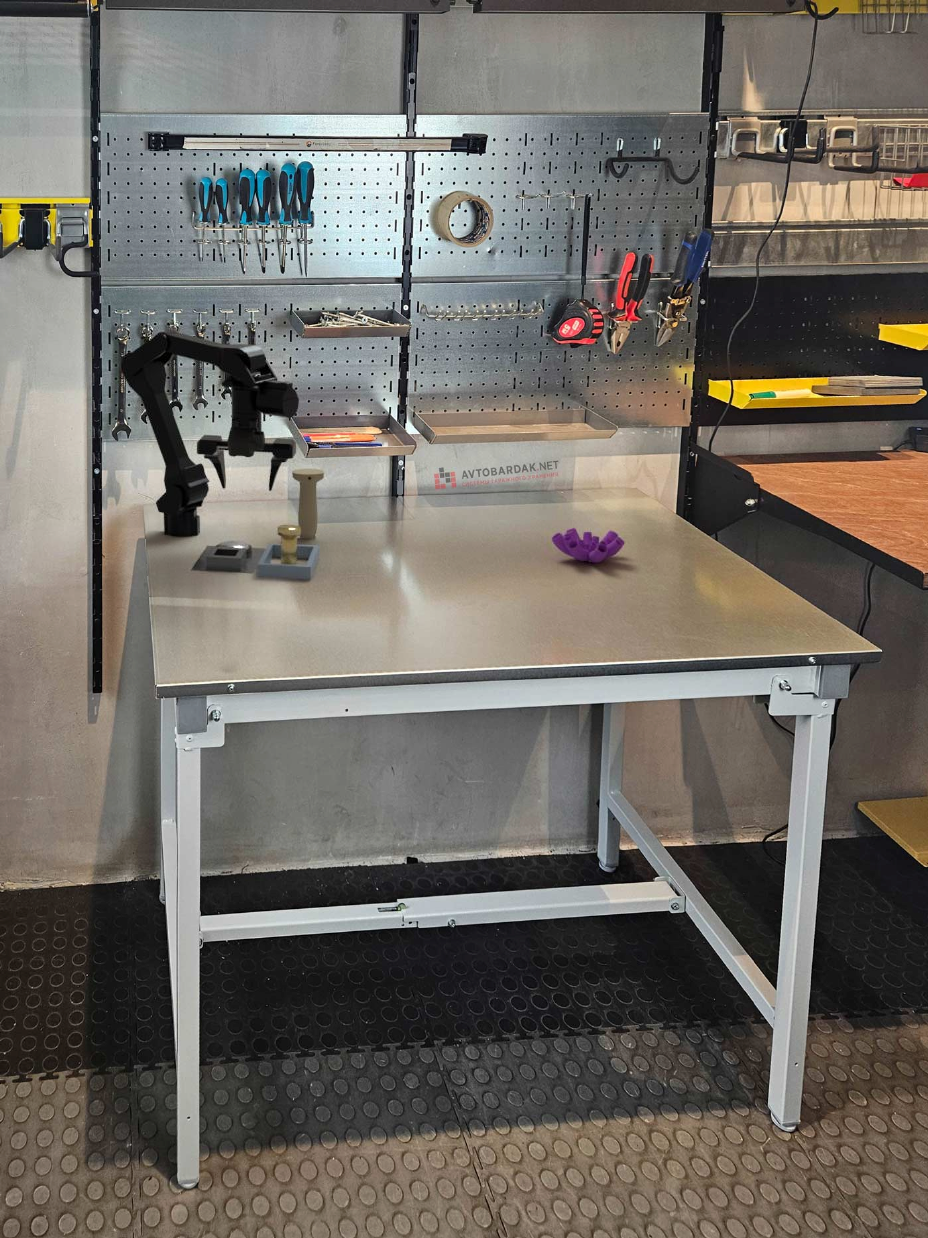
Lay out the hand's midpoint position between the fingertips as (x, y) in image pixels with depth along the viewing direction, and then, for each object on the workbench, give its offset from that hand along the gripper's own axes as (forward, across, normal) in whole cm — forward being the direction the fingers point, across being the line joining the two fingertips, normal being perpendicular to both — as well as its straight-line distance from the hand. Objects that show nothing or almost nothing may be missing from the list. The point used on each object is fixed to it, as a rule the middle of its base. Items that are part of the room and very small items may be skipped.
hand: (247, 489), depth 260 cm
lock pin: (+12, +10, -12) cm, 20 cm away
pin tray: (+13, +10, -12) cm, 20 cm away
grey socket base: (+13, -2, -9) cm, 16 cm away
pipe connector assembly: (+13, +69, +5) cm, 70 cm away
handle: (+13, +11, +9) cm, 19 cm away
